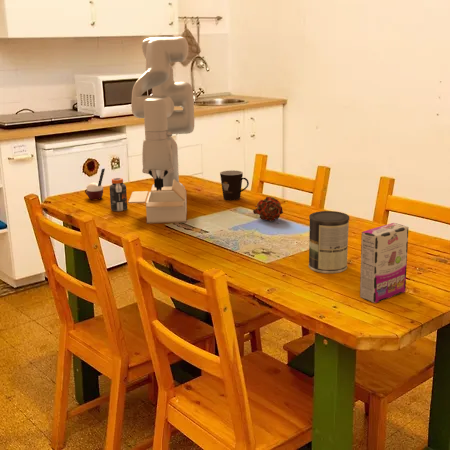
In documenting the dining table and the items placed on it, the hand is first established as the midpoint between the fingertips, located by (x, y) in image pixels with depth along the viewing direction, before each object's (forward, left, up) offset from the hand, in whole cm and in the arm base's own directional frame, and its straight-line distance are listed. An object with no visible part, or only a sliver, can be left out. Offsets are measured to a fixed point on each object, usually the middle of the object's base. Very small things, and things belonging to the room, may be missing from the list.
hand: (159, 189), depth 218 cm
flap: (0, +9, -2) cm, 9 cm away
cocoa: (-29, -26, -10) cm, 40 cm away
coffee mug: (-22, +27, -10) cm, 36 cm away
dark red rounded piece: (+7, +37, -10) cm, 39 cm away
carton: (0, 0, -10) cm, 10 cm away
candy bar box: (+74, +57, -10) cm, 94 cm away
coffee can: (+54, +48, -10) cm, 73 cm away
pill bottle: (-12, -15, -10) cm, 22 cm away
